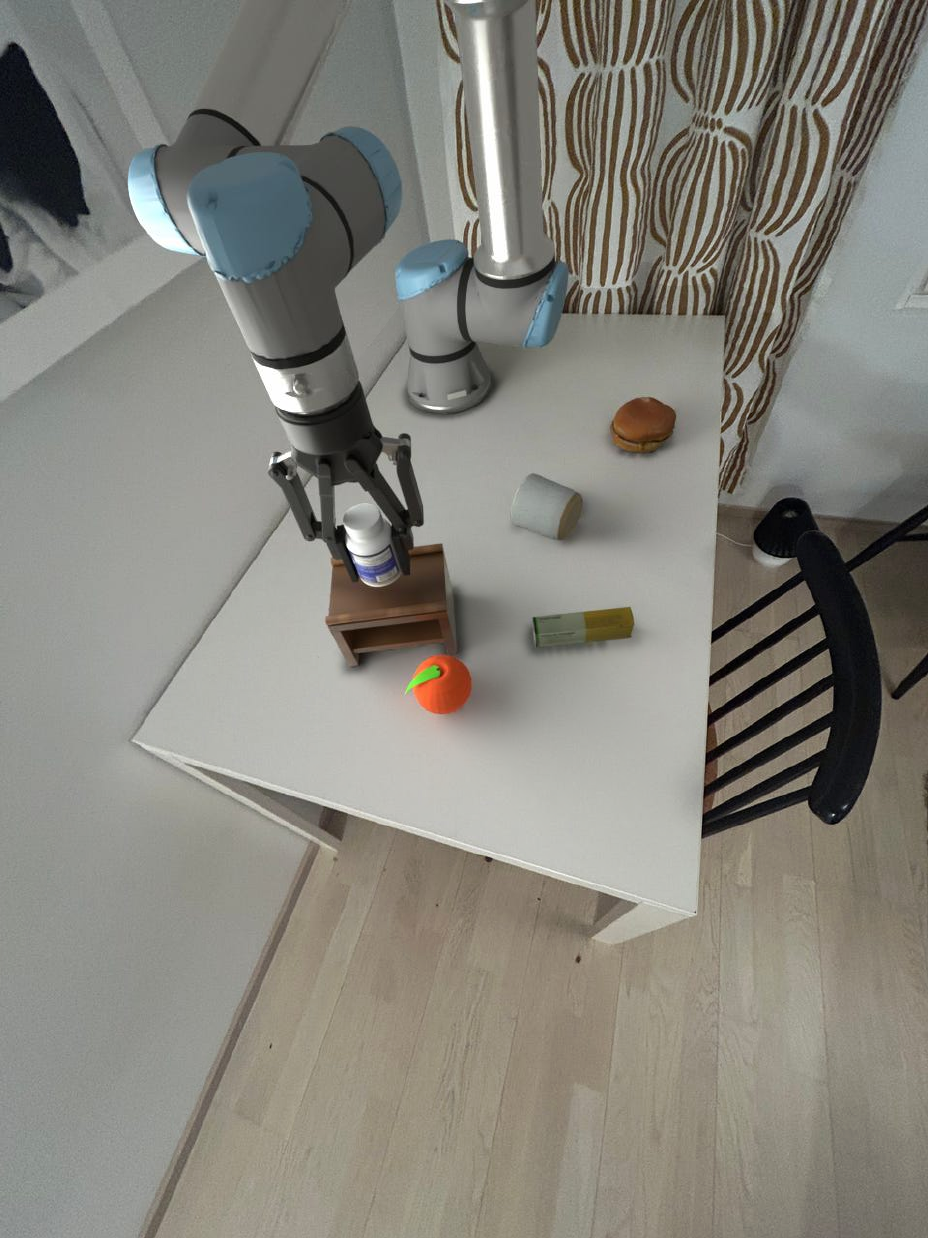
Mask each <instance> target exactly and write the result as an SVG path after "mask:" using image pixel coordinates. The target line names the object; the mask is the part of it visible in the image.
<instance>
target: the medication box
mask: <svg viewBox="0 0 928 1238" xmlns="http://www.w3.org/2000/svg"><path fill="white" fill-rule="evenodd" d="M531 620H532V640H533V644H534V647H535V649H537V648H544V647H555V646H565V645H574V644H585V643H595V642H604V641H614V640H625V639H631V638H633V635H632V634H633V631H634V630H633V629H634V626H635V617H634V614H633V610H632V607H631V606H623V607H615V608H607V609H606V608H605V609H596V610H595V609H594V610H586V611H578V612H568V613H558V614H550V615H541V616H539V615H538V616H532V618H531Z"/></svg>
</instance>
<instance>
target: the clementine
mask: <svg viewBox="0 0 928 1238" xmlns="http://www.w3.org/2000/svg"><path fill="white" fill-rule="evenodd" d="M411 689H412V692H413V696H414V698H415V699H416V701H417V702H418V704H419V705H420V706H421V707H422V708H423V709H425V711H428V712H430V713H432V714H435V715H449V714H453V713H455V712H457V711H459V710H460V709H462V707H464V705H465V704H466V703H467V702H468V700H469V698H470V697H471V694H472V689H473V679H472V676H471V673H470V671H469V669H468V667H467V666H466V664H465V663H464V662H463V661H461V660H460V659H459V658H457V657H455V656H452V655H448V654H435V655H433V656H430V657H428V658H425V659H424V660H423V661H422V662H421V663H420V664H419V665H418V667H417V668H416V669H415V672H414V675H413V678H412V680H411V681H410V682H409V684H408V686H407V688H406V689H405V692H404V696H406V695H407V693H408V692H409V691H410V690H411Z"/></svg>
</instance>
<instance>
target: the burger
mask: <svg viewBox="0 0 928 1238" xmlns="http://www.w3.org/2000/svg"><path fill="white" fill-rule="evenodd" d="M676 421H677V413H676V411H675V409H674V408H672V406H670V405H668V404H665V403H664V402H662V401H660V400H658V399H657V398H655V397H651V396H646V397H645V396H641V397H636V398H633V399H631V400H629V401H626V402H625V403H624V404H622V405H621V406H620V407H619V408H618V409H617V411H616V412H615V415H614V417H613V419H612V420H611V423H610V432H611V436H612V440H613V444H614V445H615V446H617V447H618V448H620V449H622V450H624V451H626V452H630V453H637V454H648V453H652V452H654V451H656V450H657V449H659V448H660V447H662V446H663V445H664V444H665V443H666V442H667V441H668V440H669V439H670V437H671V436H672V435H673V434H674V429H675V428H676Z"/></svg>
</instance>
